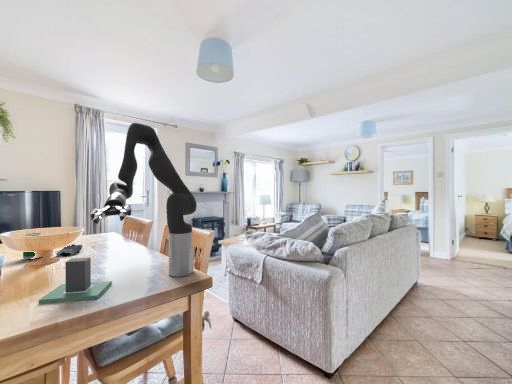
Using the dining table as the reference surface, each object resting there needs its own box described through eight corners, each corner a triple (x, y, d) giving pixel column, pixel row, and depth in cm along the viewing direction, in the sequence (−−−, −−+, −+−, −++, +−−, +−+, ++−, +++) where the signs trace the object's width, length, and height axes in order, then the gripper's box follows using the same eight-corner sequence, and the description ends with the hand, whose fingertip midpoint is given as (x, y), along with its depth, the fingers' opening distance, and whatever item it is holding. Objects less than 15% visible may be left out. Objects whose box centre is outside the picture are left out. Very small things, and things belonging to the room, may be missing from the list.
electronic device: (61, 254, 133) (53, 257, 120) (63, 243, 134) (56, 245, 121) (81, 254, 137) (76, 257, 124) (83, 244, 138) (78, 246, 125)
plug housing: (90, 286, 83) (90, 257, 83) (85, 291, 79) (84, 260, 79) (72, 287, 82) (72, 258, 82) (65, 292, 78) (65, 261, 78)
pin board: (111, 284, 88) (111, 274, 88) (97, 299, 76) (97, 287, 76) (61, 287, 85) (61, 277, 85) (38, 303, 73) (38, 291, 73)
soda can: (42, 258, 118) (42, 234, 118) (21, 261, 114) (21, 236, 114) (44, 255, 124) (44, 232, 124) (24, 257, 120) (24, 233, 120)
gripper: (95, 197, 104) (85, 213, 90) (132, 194, 109) (127, 209, 95) (99, 212, 107) (89, 231, 93) (134, 209, 111) (130, 226, 97)
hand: (108, 220), depth 94 cm, fingers open, 8 cm apart
